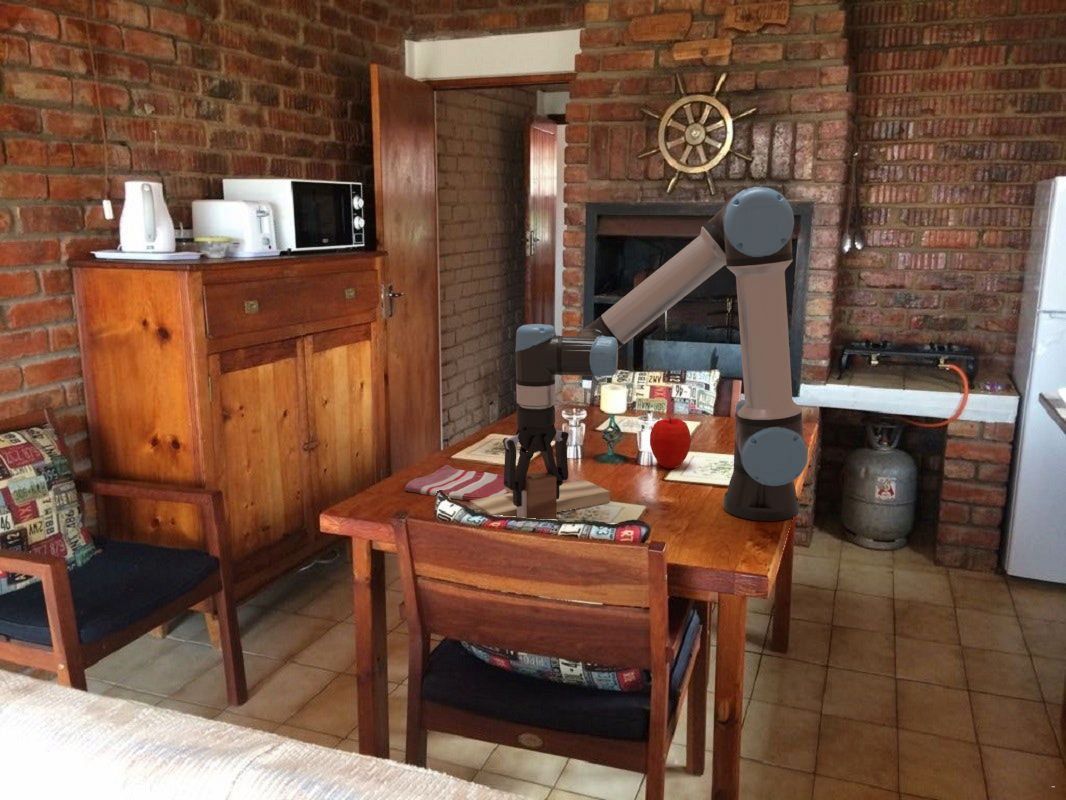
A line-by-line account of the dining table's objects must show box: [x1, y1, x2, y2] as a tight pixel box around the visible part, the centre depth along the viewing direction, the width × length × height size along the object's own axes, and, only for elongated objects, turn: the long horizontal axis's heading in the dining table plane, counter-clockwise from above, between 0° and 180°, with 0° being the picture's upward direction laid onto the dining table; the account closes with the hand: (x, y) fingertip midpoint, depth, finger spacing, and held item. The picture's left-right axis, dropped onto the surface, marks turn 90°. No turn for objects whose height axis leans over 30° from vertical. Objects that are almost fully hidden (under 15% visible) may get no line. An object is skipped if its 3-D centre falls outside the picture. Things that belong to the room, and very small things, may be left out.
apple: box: [649, 417, 692, 469], centre depth 217 cm, size 10×10×12 cm
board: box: [469, 479, 611, 517], centre depth 189 cm, size 10×28×2 cm, turn 120°
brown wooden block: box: [506, 470, 558, 519], centre depth 182 cm, size 14×6×9 cm, turn 29°
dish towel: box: [404, 464, 510, 503], centre depth 202 cm, size 17×23×3 cm
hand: (536, 517), depth 179 cm, fingers closed on brown wooden block, 6 cm apart
